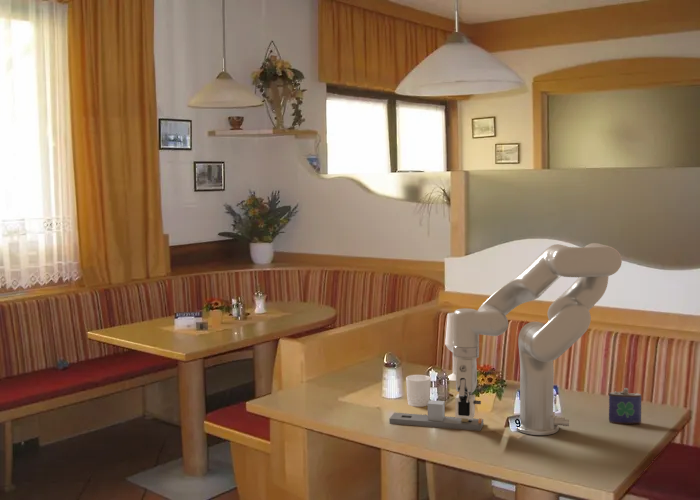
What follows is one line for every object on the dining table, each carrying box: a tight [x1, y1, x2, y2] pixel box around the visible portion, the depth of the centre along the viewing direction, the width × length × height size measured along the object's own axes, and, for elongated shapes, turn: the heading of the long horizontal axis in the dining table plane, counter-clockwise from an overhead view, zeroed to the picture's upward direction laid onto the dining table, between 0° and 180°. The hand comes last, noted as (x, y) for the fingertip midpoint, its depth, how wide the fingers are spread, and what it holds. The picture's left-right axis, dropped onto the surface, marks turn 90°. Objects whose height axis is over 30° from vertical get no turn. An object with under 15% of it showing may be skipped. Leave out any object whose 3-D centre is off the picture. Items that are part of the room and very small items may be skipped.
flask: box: [608, 387, 642, 426], centre depth 236 cm, size 9×3×11 cm, turn 78°
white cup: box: [405, 374, 432, 408], centre depth 254 cm, size 8×8×10 cm
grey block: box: [427, 399, 446, 421], centre depth 234 cm, size 4×4×6 cm
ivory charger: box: [454, 393, 482, 422], centre depth 230 cm, size 7×4×8 cm, turn 73°
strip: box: [389, 412, 484, 432], centre depth 234 cm, size 27×6×4 cm, turn 73°
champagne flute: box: [444, 312, 457, 382], centre depth 289 cm, size 7×7×24 cm
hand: (465, 412), depth 231 cm, fingers closed on ivory charger, 4 cm apart
